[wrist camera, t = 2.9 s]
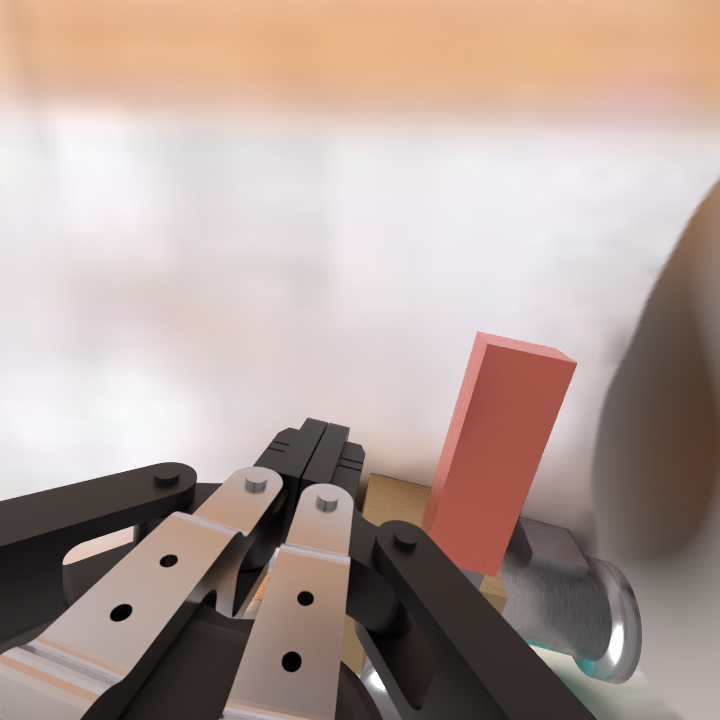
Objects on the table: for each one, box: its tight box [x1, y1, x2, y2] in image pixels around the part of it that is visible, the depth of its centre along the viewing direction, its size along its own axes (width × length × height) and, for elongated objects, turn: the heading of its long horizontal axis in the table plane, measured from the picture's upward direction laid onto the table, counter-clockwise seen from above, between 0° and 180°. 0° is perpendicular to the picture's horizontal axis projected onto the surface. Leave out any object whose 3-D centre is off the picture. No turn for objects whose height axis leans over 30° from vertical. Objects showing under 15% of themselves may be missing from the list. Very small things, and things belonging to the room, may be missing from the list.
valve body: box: [267, 473, 642, 684], centre depth 21 cm, size 7×22×8 cm, turn 79°
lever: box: [360, 331, 577, 720], centre depth 14 cm, size 17×4×2 cm, turn 169°
